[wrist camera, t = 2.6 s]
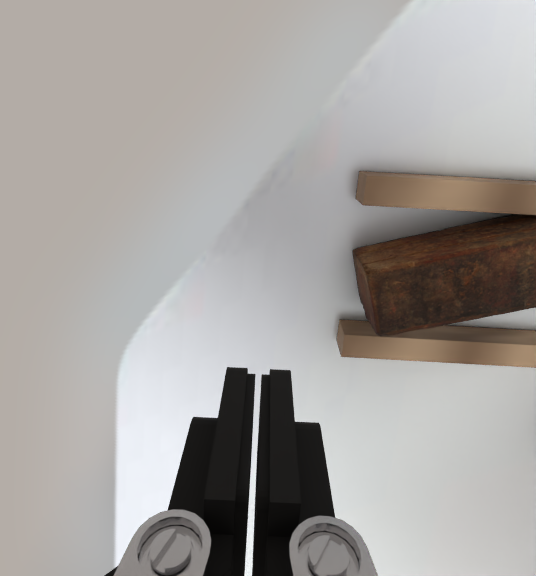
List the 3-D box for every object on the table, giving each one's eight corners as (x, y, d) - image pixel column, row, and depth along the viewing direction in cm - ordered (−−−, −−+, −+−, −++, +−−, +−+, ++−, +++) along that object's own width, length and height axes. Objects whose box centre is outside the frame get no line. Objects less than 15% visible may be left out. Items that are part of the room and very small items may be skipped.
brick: (359, 305, 25) (377, 343, 21) (350, 246, 24) (367, 273, 20) (534, 270, 24) (591, 302, 20) (536, 206, 23) (597, 225, 19)
